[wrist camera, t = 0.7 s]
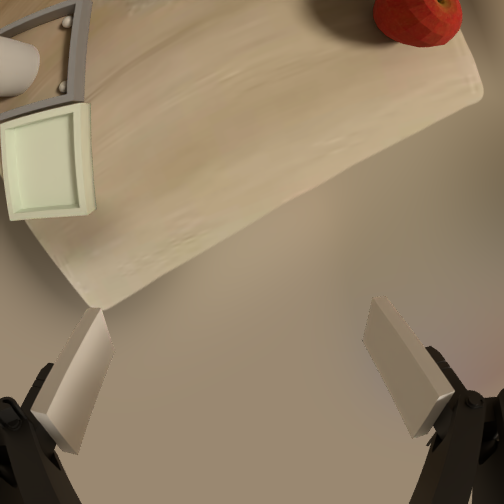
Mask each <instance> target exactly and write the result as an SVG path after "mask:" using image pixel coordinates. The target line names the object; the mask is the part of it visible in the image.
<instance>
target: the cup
mask: <svg viewBox="0 0 504 504" xmlns="http://www.w3.org/2000/svg"><path fill="white" fill-rule="evenodd" d="M39 64H40V56H39V52H38V50H37V48H36V47H35V46H33V45H31V44H27V43H24V42H20V41H17V40H13V39H10V38H6V37H2V36H0V96H18V95H20V94H22V93H23V92H25V91H26V90H27V89H28V88H29V87H30V85H31V84H32V82H33V81H34V79H35V77H36V75H37V72H38V69H39Z"/></svg>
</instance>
